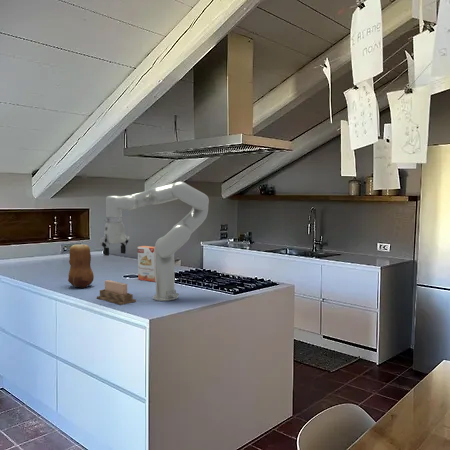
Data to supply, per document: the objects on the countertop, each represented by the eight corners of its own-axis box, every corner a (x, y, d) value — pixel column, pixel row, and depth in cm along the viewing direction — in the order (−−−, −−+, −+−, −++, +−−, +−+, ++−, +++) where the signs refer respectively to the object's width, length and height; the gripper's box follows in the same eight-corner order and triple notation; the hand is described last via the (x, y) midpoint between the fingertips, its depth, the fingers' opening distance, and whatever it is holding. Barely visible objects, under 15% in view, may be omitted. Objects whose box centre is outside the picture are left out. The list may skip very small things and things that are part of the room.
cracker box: (137, 279, 287) (137, 246, 285) (144, 278, 292) (143, 245, 290) (154, 282, 279) (153, 247, 277) (161, 280, 284) (160, 246, 282)
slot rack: (135, 301, 230) (135, 293, 229) (120, 305, 223) (120, 296, 223) (111, 295, 244) (111, 287, 243) (96, 298, 237) (96, 290, 237)
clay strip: (127, 300, 229) (127, 284, 228) (123, 300, 227) (122, 284, 226) (109, 295, 240) (108, 280, 239) (105, 296, 238) (104, 280, 237)
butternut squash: (87, 283, 275) (86, 242, 273) (97, 287, 265) (96, 244, 263) (64, 287, 266) (63, 244, 264) (74, 290, 256) (72, 246, 254)
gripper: (103, 221, 222) (104, 257, 223) (133, 219, 234) (133, 253, 236) (94, 221, 227) (95, 255, 228) (124, 219, 239) (125, 252, 241)
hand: (115, 254), depth 232 cm, fingers open, 9 cm apart
